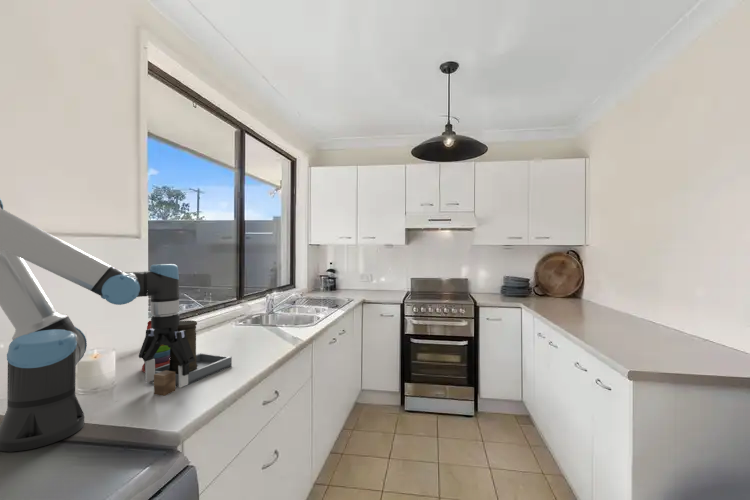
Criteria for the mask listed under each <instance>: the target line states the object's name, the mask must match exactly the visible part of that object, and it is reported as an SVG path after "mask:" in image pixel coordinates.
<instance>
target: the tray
mask: <svg viewBox="0 0 750 500" xmlns="http://www.w3.org/2000/svg"><path fill="white" fill-rule="evenodd" d="M196 357H197V359H196V364H197V365H198V367H197V369H196V370H194V371H191V372H189V374H188V385H191V384H194V383H195V382H198V381H200V380H202V379H206V378H208V377H210V376H212V375H214V374H216V373H219V372H221V371H223V370H226V369H228V368H231V367H232V363H233V361H232V359H233V358H232V356H227V355H220V354H211V353H202V352H200V353H196ZM169 367H170V364H167V365H164V366H161V367H158V368H155V374H157V373H160V372H162V371H165V370H167V371H168V369H169ZM149 383H154V380H152V381H150V382H149ZM188 385H185V386H183V387H182V388H184V387H186V386H188ZM175 387H178V388H180V387H179V374H175Z"/></svg>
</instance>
